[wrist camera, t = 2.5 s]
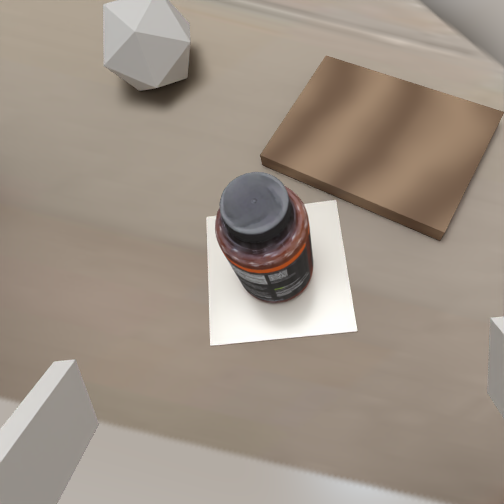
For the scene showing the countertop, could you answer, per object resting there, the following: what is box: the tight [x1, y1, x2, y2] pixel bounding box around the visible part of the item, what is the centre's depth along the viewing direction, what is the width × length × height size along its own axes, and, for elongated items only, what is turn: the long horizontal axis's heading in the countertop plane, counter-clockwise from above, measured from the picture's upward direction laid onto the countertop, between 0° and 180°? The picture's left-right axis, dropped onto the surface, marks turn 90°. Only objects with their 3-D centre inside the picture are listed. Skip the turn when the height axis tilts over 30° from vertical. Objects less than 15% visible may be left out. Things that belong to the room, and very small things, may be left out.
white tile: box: [207, 200, 357, 346], centre depth 35 cm, size 11×11×1 cm
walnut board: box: [260, 56, 504, 241], centre depth 38 cm, size 16×12×2 cm
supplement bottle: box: [215, 172, 313, 303], centre depth 30 cm, size 6×6×11 cm
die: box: [103, 0, 190, 91], centre depth 42 cm, size 8×9×10 cm
